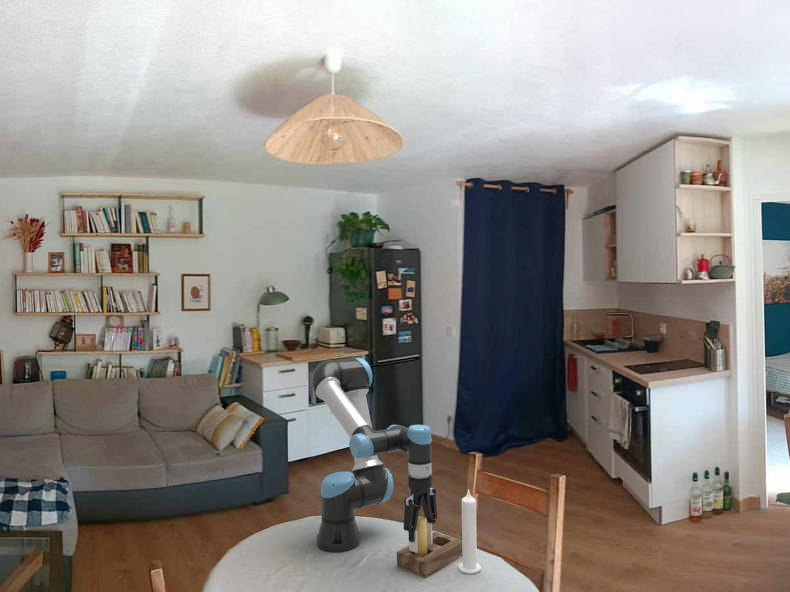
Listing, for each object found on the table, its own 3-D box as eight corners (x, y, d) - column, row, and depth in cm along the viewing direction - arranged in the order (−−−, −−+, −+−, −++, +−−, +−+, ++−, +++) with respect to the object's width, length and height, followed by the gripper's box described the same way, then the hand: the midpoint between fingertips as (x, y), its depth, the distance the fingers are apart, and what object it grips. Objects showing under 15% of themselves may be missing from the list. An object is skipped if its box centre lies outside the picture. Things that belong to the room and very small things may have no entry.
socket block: (396, 565, 183) (396, 551, 183) (434, 544, 198) (434, 531, 198) (426, 577, 175) (426, 563, 175) (463, 554, 190) (463, 541, 190)
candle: (480, 575, 176) (479, 494, 176) (457, 573, 177) (456, 492, 177) (481, 564, 183) (480, 486, 183) (459, 562, 184) (458, 485, 184)
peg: (412, 566, 182) (411, 519, 182) (420, 561, 185) (419, 515, 185) (422, 569, 180) (421, 522, 179) (430, 565, 183) (429, 518, 182)
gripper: (409, 485, 172) (410, 561, 172) (448, 469, 187) (449, 539, 187) (390, 480, 177) (391, 554, 177) (429, 465, 192) (430, 533, 192)
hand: (421, 546), depth 182 cm, fingers open, 7 cm apart
